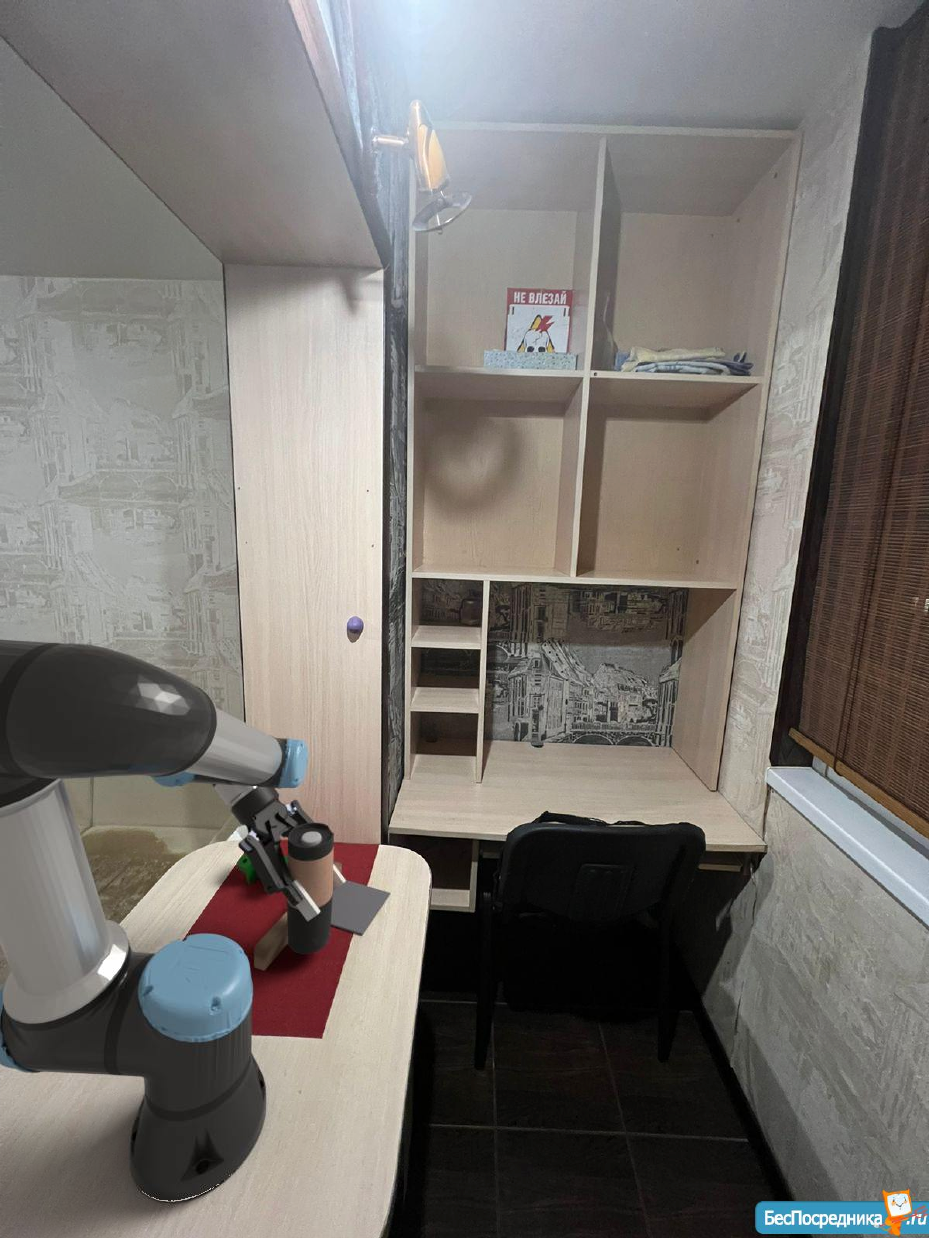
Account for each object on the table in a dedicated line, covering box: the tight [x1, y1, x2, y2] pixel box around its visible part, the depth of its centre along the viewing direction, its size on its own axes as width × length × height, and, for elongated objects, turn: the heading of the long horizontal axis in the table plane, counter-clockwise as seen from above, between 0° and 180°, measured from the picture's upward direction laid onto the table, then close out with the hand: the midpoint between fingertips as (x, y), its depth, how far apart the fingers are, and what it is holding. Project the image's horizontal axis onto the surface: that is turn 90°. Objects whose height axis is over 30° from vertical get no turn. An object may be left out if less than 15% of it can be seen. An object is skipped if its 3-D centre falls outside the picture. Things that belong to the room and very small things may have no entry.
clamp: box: [236, 853, 288, 895], centre depth 109 cm, size 12×6×9 cm, turn 57°
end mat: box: [331, 879, 391, 936], centre depth 104 cm, size 12×11×1 cm
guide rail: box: [253, 861, 343, 972], centre depth 100 cm, size 25×2×4 cm, turn 163°
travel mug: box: [286, 822, 335, 955], centre depth 90 cm, size 8×8×20 cm
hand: (327, 899), depth 89 cm, fingers closed on travel mug, 7 cm apart
